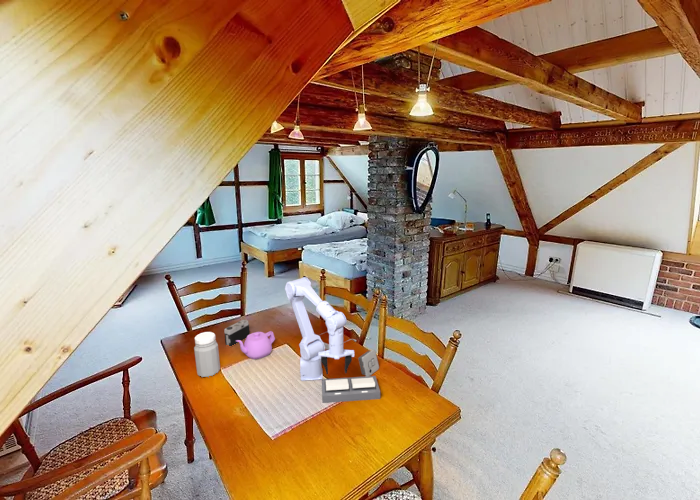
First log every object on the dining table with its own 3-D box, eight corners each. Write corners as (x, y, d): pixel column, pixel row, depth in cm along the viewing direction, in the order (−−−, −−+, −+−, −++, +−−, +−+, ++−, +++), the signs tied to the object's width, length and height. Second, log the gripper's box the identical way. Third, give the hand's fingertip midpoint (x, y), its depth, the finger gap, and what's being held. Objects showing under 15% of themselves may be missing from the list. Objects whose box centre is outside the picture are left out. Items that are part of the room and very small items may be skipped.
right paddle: (352, 388, 136) (352, 384, 136) (351, 382, 141) (351, 378, 141) (375, 386, 136) (375, 382, 136) (372, 381, 142) (372, 377, 142)
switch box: (322, 402, 132) (322, 396, 132) (321, 385, 143) (321, 379, 142) (380, 398, 135) (380, 392, 134) (375, 382, 145) (375, 375, 145)
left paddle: (326, 390, 134) (326, 386, 134) (325, 384, 140) (325, 380, 140) (348, 389, 135) (348, 385, 135) (347, 382, 141) (347, 378, 141)
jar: (224, 372, 153) (220, 335, 149) (203, 381, 146) (198, 344, 142) (214, 363, 159) (210, 328, 155) (193, 372, 152) (188, 336, 148)
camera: (241, 332, 190) (240, 316, 187) (252, 337, 185) (251, 320, 182) (219, 342, 179) (218, 325, 176) (229, 348, 174) (228, 330, 171)
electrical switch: (367, 378, 148) (366, 358, 146) (358, 375, 151) (356, 355, 150) (379, 368, 155) (378, 350, 154) (370, 365, 158) (369, 347, 157)
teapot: (231, 355, 166) (230, 334, 164) (268, 342, 179) (267, 322, 177) (243, 367, 157) (241, 345, 154) (281, 351, 170) (280, 331, 167)
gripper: (318, 348, 131) (318, 379, 134) (355, 346, 132) (355, 377, 136) (318, 339, 138) (318, 369, 141) (353, 337, 139) (353, 367, 142)
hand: (336, 372), depth 139 cm, fingers open, 7 cm apart
